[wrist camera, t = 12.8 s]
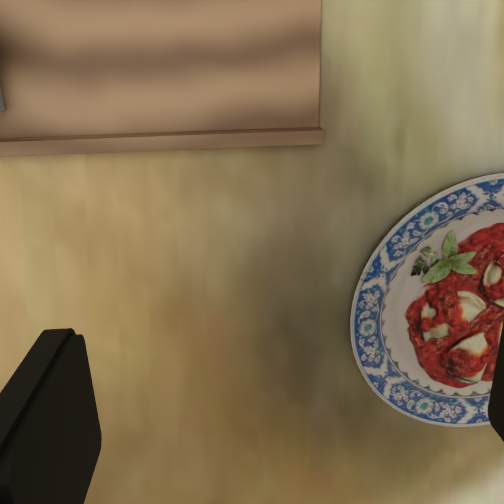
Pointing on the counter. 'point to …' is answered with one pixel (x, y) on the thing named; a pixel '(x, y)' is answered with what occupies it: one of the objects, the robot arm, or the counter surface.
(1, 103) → the grey block with post
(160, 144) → the lane
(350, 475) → the counter surface
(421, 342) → the ceramic plate
